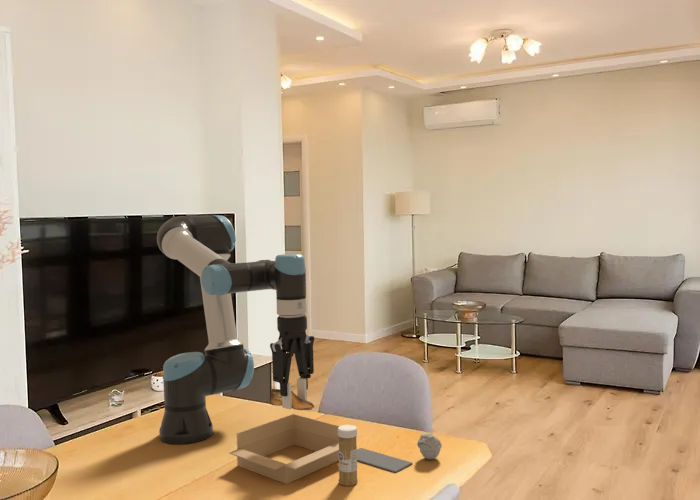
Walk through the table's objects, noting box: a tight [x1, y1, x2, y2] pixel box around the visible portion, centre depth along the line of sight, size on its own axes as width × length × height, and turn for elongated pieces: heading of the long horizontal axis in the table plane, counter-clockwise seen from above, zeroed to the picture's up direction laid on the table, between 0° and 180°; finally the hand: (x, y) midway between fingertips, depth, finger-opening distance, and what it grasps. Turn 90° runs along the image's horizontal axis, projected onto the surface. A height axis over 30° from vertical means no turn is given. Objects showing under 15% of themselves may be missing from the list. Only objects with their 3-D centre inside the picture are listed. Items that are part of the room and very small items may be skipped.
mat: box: [357, 447, 413, 474], centre depth 172 cm, size 17×7×1 cm, turn 49°
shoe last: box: [269, 388, 315, 411], centre depth 172 cm, size 4×14×5 cm, turn 54°
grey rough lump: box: [416, 432, 442, 460], centre depth 172 cm, size 6×7×7 cm
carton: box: [228, 413, 340, 485], centre depth 170 cm, size 21×23×8 cm
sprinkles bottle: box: [338, 424, 359, 487], centre depth 159 cm, size 5×5×14 cm
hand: (294, 405), depth 171 cm, fingers closed on shoe last, 5 cm apart
